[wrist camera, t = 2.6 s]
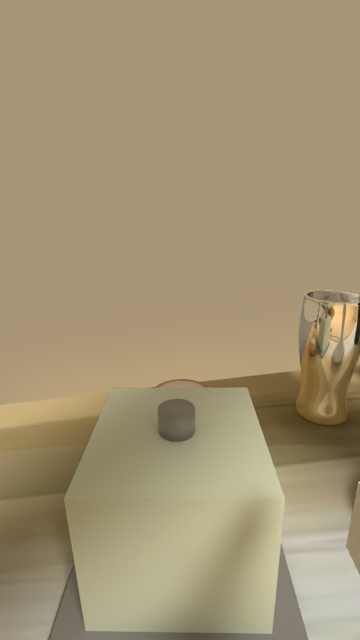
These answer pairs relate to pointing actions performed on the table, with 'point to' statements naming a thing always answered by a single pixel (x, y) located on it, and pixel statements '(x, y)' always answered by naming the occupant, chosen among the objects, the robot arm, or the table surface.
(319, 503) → the table surface
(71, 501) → the cover
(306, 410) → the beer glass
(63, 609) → the mat
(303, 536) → the table surface
